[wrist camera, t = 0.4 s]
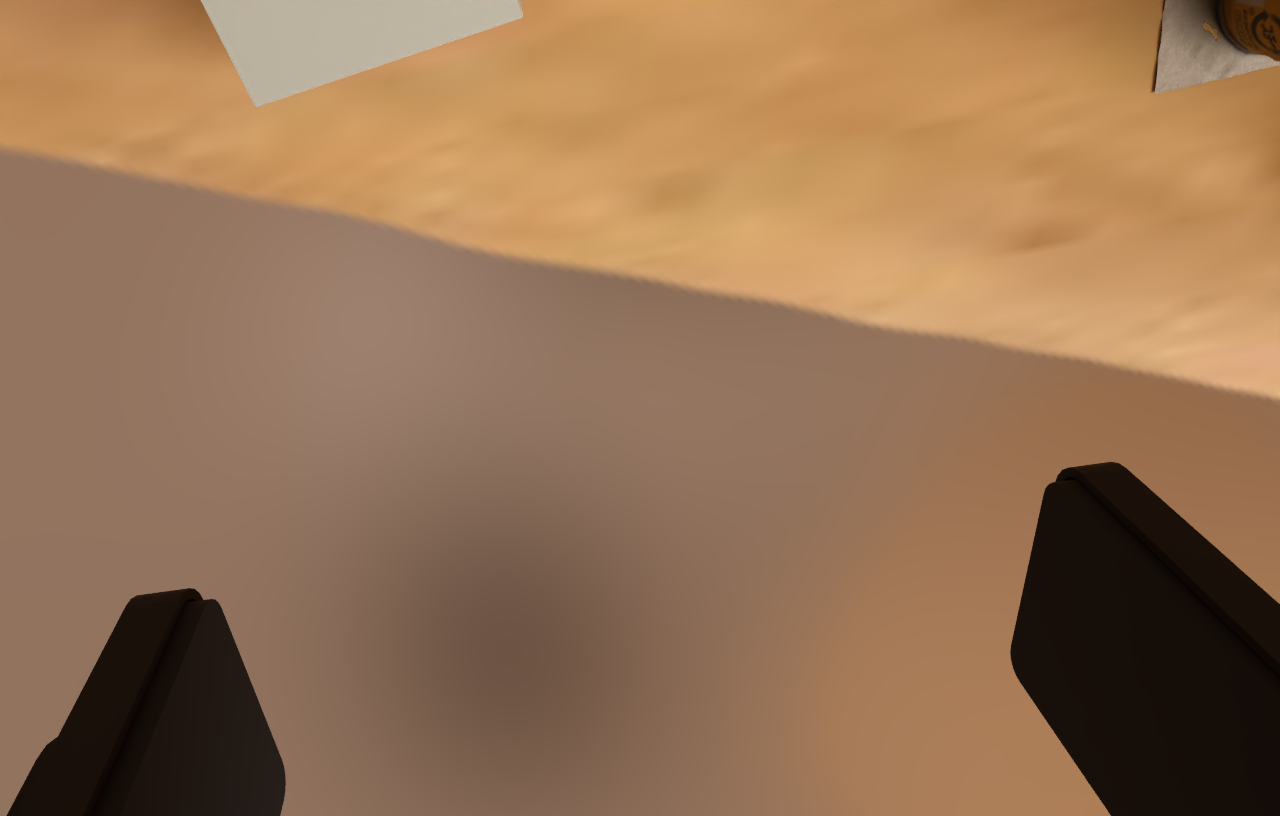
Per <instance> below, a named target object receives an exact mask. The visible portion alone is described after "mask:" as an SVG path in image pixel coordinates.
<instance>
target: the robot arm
mask: <svg viewBox="0 0 1280 816" xmlns="http://www.w3.org/2000/svg"><path fill="white" fill-rule="evenodd" d="M1011 661H1012V665H1013V669H1014V671H1015V674H1016V676H1017V678H1018V679H1019V681H1020V683H1021V684H1022V686H1023V687H1024V689H1025V690H1026V691H1027V693H1028V694H1029V696H1030V697H1031V699H1032V700H1033V702H1034V703H1035V705H1036V706H1037V708H1038V709H1039V711H1040V712H1041V713H1042V715H1043V716H1044V718H1045V719H1046V721H1047V722H1048V724H1049V725H1050V727H1051V728H1052V729H1053V731H1054V733H1055V734H1056V735H1057V737H1058V738H1059V740H1060V741H1061V743H1062V744H1063V746H1064V747H1065V749H1066V750H1067V752H1068V753H1069V754H1070V756H1071V758H1072V759H1073V760H1074V762H1075V763H1076V765H1077V766H1078V768H1079V769H1080V771H1081V772H1082V774H1083V775H1084V776H1085V778H1086V779H1087V781H1088V783H1089V784H1090V785H1091V787H1092V788H1093V790H1094V791H1095V793H1096V794H1097V796H1098V797H1099V798H1100V800H1101V802H1102V803H1103V804H1104V806H1105V807H1106V809H1107V810H1108V812H1109V813H1110V815H1111V816H1280V604H1279V603H1278V602H1276V601H1275V600H1274V599H1273V598H1272V597H1271V596H1270V595H1269V594H1267V593H1266V592H1265V591H1264V590H1263V589H1262V588H1261V587H1260V586H1258V585H1257V584H1256V583H1255V582H1254V581H1253V580H1252V579H1251V578H1249V577H1248V576H1247V575H1246V574H1245V573H1244V572H1242V571H1241V570H1240V569H1239V568H1238V567H1237V566H1236V565H1235V564H1234V563H1233V562H1231V561H1230V560H1229V559H1228V558H1227V557H1226V556H1225V555H1223V554H1222V553H1221V552H1220V551H1219V550H1218V549H1217V548H1216V547H1215V546H1213V545H1212V544H1211V543H1210V542H1209V541H1208V540H1207V539H1205V538H1204V537H1203V536H1202V535H1201V534H1200V533H1199V532H1198V531H1196V530H1195V529H1194V528H1193V527H1192V526H1191V525H1190V524H1189V523H1187V522H1186V521H1185V520H1184V519H1183V518H1182V517H1180V515H1178V514H1177V513H1176V512H1175V511H1174V510H1173V509H1171V508H1170V507H1169V506H1168V505H1167V504H1166V503H1165V502H1164V501H1163V500H1162V499H1160V498H1159V497H1158V496H1157V495H1156V494H1155V493H1153V492H1152V491H1151V490H1150V489H1149V488H1148V487H1147V486H1146V485H1145V484H1143V483H1142V482H1141V481H1140V480H1139V479H1138V478H1136V477H1135V476H1134V475H1133V474H1132V473H1131V472H1130V471H1129V470H1128V469H1127V468H1125V467H1124V466H1122V465H1121V464H1119V463H1115V462H1107V463H1099V464H1092V465H1085V466H1078V467H1071V468H1067V469H1064V470H1062V471H1061V472H1060V474H1059V475H1058V476H1057V479H1056V482H1054V483H1050V484H1049V485H1048V486H1047V487H1046V489H1045V492H1044V495H1043V500H1042V505H1041V509H1040V514H1039V518H1038V523H1037V528H1036V532H1035V537H1034V542H1033V547H1032V551H1031V556H1030V560H1029V565H1028V570H1027V574H1026V579H1025V583H1024V588H1023V593H1022V597H1021V602H1020V607H1019V611H1018V616H1017V621H1016V625H1015V630H1014V635H1013V640H1012V644H1011ZM285 785H286V783H285V770H284V765H283V762H282V759H281V757H280V754H279V751H278V749H277V746H276V744H275V741H274V739H273V737H272V734H271V731H270V729H269V726H268V724H267V721H266V719H265V716H264V714H263V711H262V709H261V707H260V704H259V701H258V699H257V696H256V693H255V691H254V689H253V686H252V683H251V681H250V679H249V676H248V673H247V671H246V669H245V666H244V663H243V661H242V658H241V656H240V653H239V651H238V648H237V646H236V643H235V641H234V638H233V636H232V633H231V631H230V628H229V626H228V623H227V621H226V618H225V616H224V613H223V611H222V608H221V606H220V604H219V603H218V602H217V601H216V600H214V599H209V600H203V598H202V597H201V595H200V593H199V592H197V591H196V590H195V589H191V588H188V589H181V590H174V591H166V592H159V593H152V594H145V595H137V596H135V597H134V598H132V599H131V600H130V601H129V602H128V604H127V605H126V607H125V609H124V611H123V612H122V614H121V616H120V618H119V620H118V622H117V624H116V626H115V628H114V630H113V632H112V634H111V636H110V638H109V639H108V641H107V643H106V645H105V647H104V649H103V651H102V653H101V655H100V657H99V659H98V661H97V663H96V665H95V666H94V668H93V670H92V672H91V674H90V676H89V678H88V680H87V682H86V684H85V686H84V688H83V689H82V691H81V693H80V695H79V697H78V699H77V701H76V703H75V705H74V707H73V709H72V711H71V712H70V714H69V716H68V718H67V720H66V722H65V724H64V726H63V728H62V730H61V732H60V734H59V736H58V737H57V738H55V739H54V740H53V741H51V742H50V743H49V744H47V745H46V747H45V748H44V749H43V751H42V752H41V754H40V755H39V757H38V758H37V760H36V761H35V763H34V765H33V767H32V769H31V771H30V773H29V775H28V776H27V779H26V780H25V782H24V784H23V786H22V788H21V790H20V791H19V794H18V795H17V797H16V799H15V801H14V803H13V805H12V807H11V808H10V810H9V812H8V814H7V816H280V814H281V810H282V805H283V801H284V796H285Z"/></svg>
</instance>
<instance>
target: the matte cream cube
mask: <svg viewBox="0 0 1280 816" xmlns="http://www.w3.org/2000/svg"><path fill="white" fill-rule="evenodd" d="M201 2H202V4H203V6H204V8H205V10H206V12H207V14H208V16H209V18H210V20H211V21H212V23H213V25H214V27H215V29H216V31H217V33H218V35H219V37H220V39H221V41H222V43H223V45H224V47H225V49H226V51H227V53H228V55H229V57H230V59H231V61H232V62H233V64H234V66H235V68H236V70H237V72H238V74H239V76H240V78H241V80H242V82H243V84H244V86H245V88H246V90H247V92H248V94H249V96H250V98H251V100H252V102H253V103H254V105H255V107H259V106H262V105H265V104H268V103H270V102H273V101H276V100H279V99H282V98H285V97H288V96H291V95H294V94H297V93H300V92H303V91H306V90H309V89H312V88H315V87H318V86H321V85H324V84H327V83H330V82H333V81H336V80H339V79H342V78H345V77H348V76H351V75H354V74H357V73H360V72H363V71H366V70H368V69H371V68H374V67H377V66H380V65H383V64H386V63H389V62H392V61H395V60H398V59H401V58H404V57H407V56H410V55H413V54H416V53H419V52H422V51H425V50H428V49H431V48H434V47H437V46H440V45H443V44H446V43H449V42H452V41H455V40H458V39H461V38H464V37H467V36H469V35H472V34H475V33H478V32H481V31H484V30H487V29H490V28H493V27H496V26H499V25H502V24H505V23H508V22H511V21H514V20H517V19H520V18H523V13H522V6H521V0H201Z"/></svg>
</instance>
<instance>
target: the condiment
mask: <svg viewBox="0 0 1280 816" xmlns="http://www.w3.org/2000/svg"><path fill="white" fill-rule="evenodd" d="M1205 22H1206V23H1208V24H1210V25H1211V27H1212V28H1215V29H1217V31H1218V33H1217V36H1218V38H1217V41H1216V40H1215V38H1214V37H1213V35H1212V34H1211V33H1210V32H1209V31H1206V30H1205V29H1203V24H1204V23H1205ZM1278 65H1280V0H1165V7H1164V11H1163V16H1162V37H1161V45H1160V49H1159V55H1158V71H1157V79H1156V87H1155V94H1157V93H1162V92H1166V91H1172V90H1176V89H1180V88H1184V87H1187V86H1192V85H1198V84H1203V83H1206V82H1209V81H1214V80H1219V79H1224V78H1229V77H1232V76H1236V75H1241V74H1244V73H1248V72H1252V71H1256V70H1260V69H1264V68H1268V67H1273V66H1278Z"/></svg>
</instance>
